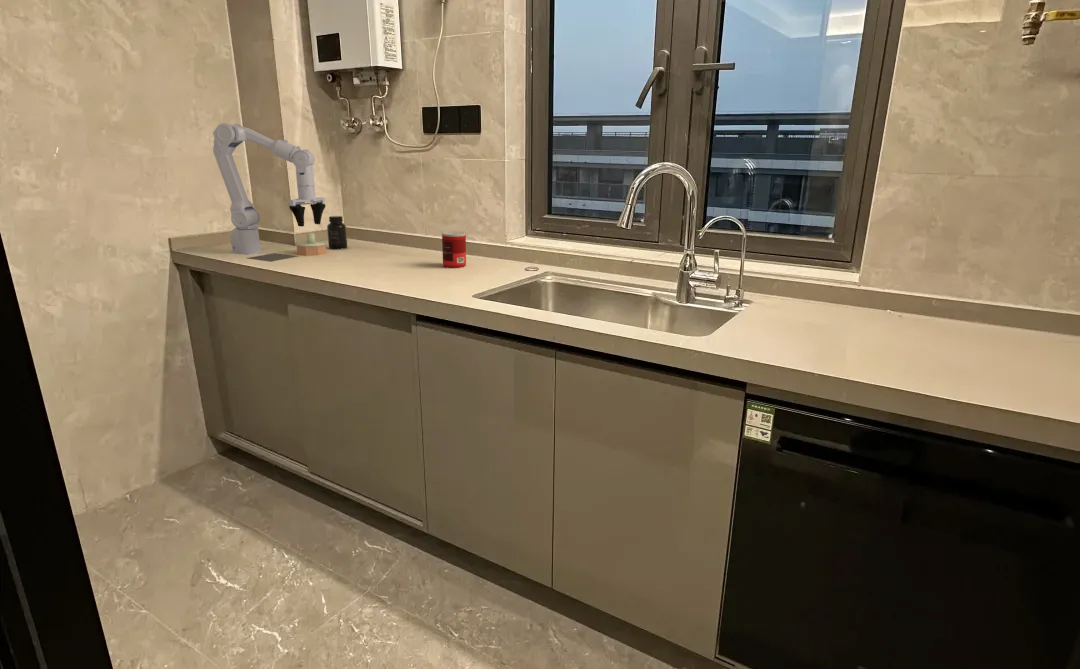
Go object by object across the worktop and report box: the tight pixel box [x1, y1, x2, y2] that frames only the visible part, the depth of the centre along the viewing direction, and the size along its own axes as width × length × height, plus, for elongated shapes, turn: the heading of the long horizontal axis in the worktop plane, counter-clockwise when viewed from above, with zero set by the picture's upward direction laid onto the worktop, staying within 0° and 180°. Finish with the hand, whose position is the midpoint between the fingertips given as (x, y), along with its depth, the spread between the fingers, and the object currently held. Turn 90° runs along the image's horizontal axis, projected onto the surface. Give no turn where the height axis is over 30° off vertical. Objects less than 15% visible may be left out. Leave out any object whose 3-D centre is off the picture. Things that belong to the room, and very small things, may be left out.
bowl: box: [296, 244, 327, 257], centre depth 223 cm, size 10×10×4 cm
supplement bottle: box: [326, 215, 348, 250], centre depth 235 cm, size 7×7×12 cm
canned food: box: [441, 231, 467, 269], centre depth 205 cm, size 8×8×11 cm
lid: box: [296, 232, 327, 247], centre depth 222 cm, size 10×10×4 cm
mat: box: [246, 252, 300, 262], centre depth 214 cm, size 12×12×1 cm
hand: (309, 225), depth 220 cm, fingers open, 7 cm apart
